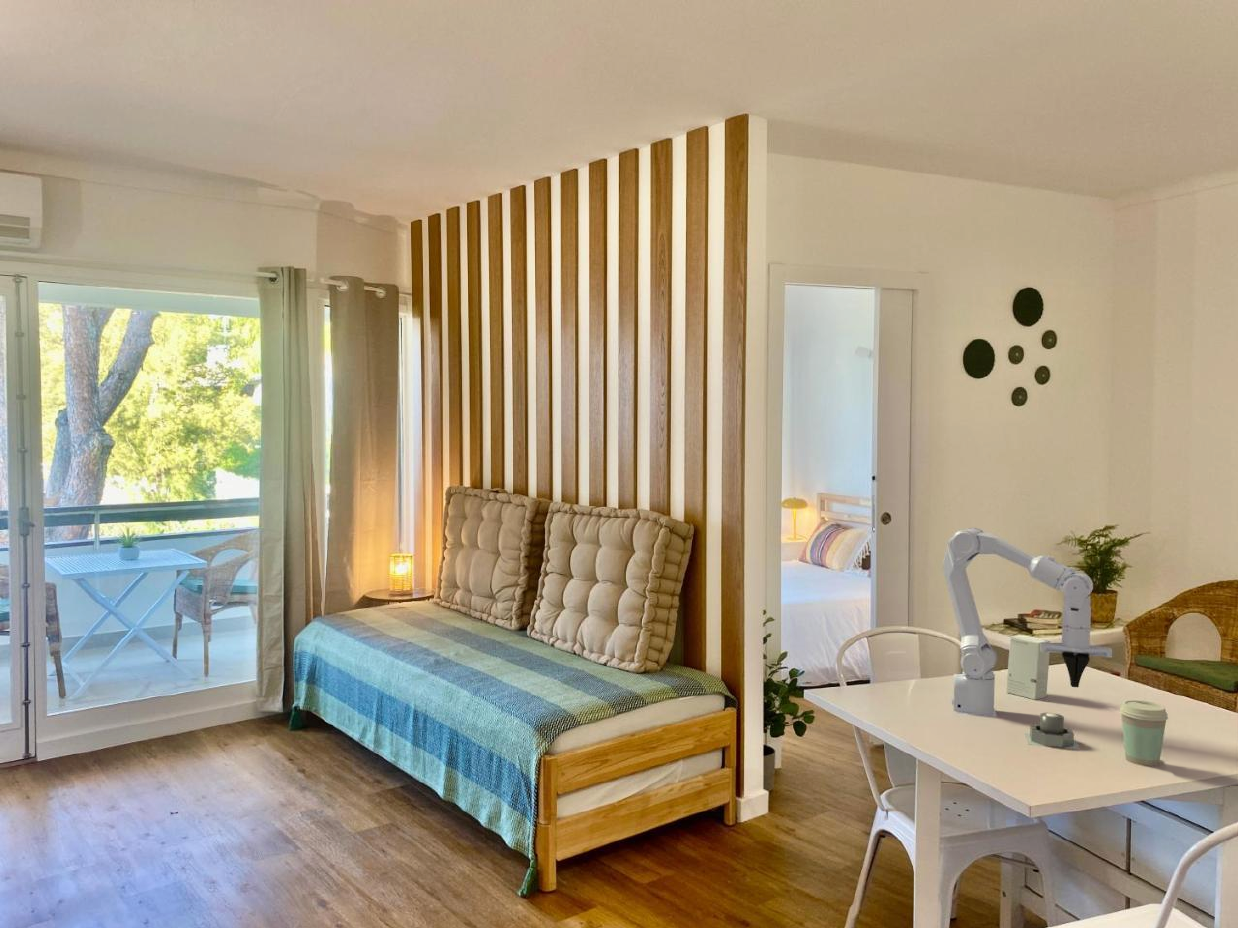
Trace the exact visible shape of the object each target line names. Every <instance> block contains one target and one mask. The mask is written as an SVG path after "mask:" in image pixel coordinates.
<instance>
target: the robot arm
mask: <svg viewBox="0 0 1238 928" xmlns="http://www.w3.org/2000/svg"><path fill="white" fill-rule="evenodd" d="M946 545H947V547H946V550H945V555H944V558H943V561H942V564H941V566H942V568H941V569H942V573H943V575H944V579H945V582H946V587H947V590H948V594H949V597H950V601H951V604H952V609H953V612H954V617H955V619H956V622H957V623H956V624H957V627H958V630H959V634H960V638H961V639H960V648H959V649H960V652H961V659H960V667H961V668H960V669H962V673H956V674H955V673H954V674H953V689H952V693H953V695H952V696H951V705H952V708H953V713H956V714H965V715H973V716H982V717H983V716H985V717H992V718H993V717H994V718H997V713H996V709H995V685H996V684H995V683H996V682H995V680H996V679H995V677H996V675H995V673H994V672H993V669H994V668H995V666H996V665H997V663H998V656H997V652H996V651H995V650H994V649H993V648H992V647H991V645H990V642H989V639H988V637H987V636H986V634H984V631H983V627H982V624H981V621H980V617H979V613H978V610H977V609H978V608H977V606H976V603H975V599H974V595H973V591H972V588H971V585H970V581H969V577H968V573H967V570H966V569H967V568H968V567H969V565H970V563H972V561H973V559H974V558H975V557H976V556H978V555H997V556H999V557H1001V558H1003V559H1005V560H1007V561H1010V562H1012V563H1014V564H1016V565H1018V566H1019V567H1022V568H1024V569H1027V571H1028V572H1029V574H1030V577H1031V578H1032V579H1035V580H1036V581H1038V582H1041V583H1042V584H1044V585H1047V587H1050V588H1052V589H1054V590H1056V591H1061V594H1062V595H1063V605H1062V617H1061V618H1062V624H1061V642H1050V643H1044V642H1040V651H1041V652H1044V653H1046V652H1050V653H1053V654H1055V653H1056V654H1061V656H1062V660H1063V661H1064V663H1065V666H1066V669H1067V672H1068V676H1069V682H1070V686H1071V687H1072V688H1079V687H1080V682H1081V678H1082V676H1083V673H1084V671H1085V670H1086V667H1087V666H1088V664H1089V663H1090V661H1091V660H1090V657H1091V656H1092V657H1103V658H1104V657H1105V658H1113V648H1111V647H1108V646H1099V645H1092V644H1091V624H1092V623H1091V621H1092V620H1091V618H1092V617H1091V615H1092V611H1091V610H1092V607H1091V596H1090V595H1091V593H1092V591H1093V588H1094V582H1093V579H1091V577H1090V576H1089V575H1088V574H1086V573H1085V572H1084V571H1079V570H1078V571H1076V568H1075V567H1072V566H1070V567H1067V566H1066V565H1064V564H1062V563H1060V562H1058V561H1056V560H1055V557H1054V556H1051V555H1048V556H1046V555H1039V556H1034V555H1032V554H1030V553H1029V552H1026V551H1025V550H1023V549H1021V548H1019V547H1017V546H1015V545H1013V544H1012V543H1010V542H1008V541H1007V540H1005V539H1003V538H1001V537H999V536H996V535H995V534H992V533H990V532H987V531H983V530H982V529H980V528H978V527H969V528H967V529H961V530H958V531H957V532H955V533H954V534H953V535H952V536H951V537H950V539H949V540H948V541H947V543H946Z"/></svg>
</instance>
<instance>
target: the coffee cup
mask: <svg viewBox="0 0 1238 928" xmlns="http://www.w3.org/2000/svg"><path fill="white" fill-rule="evenodd" d="M1119 714H1121V724H1122V734H1123V735H1122V736H1123V737H1122V738H1123V743H1124V744H1123V745H1124V755H1125V756H1124V757H1125V760H1126V761H1127V762H1129V763H1132V764H1135V765H1138V766H1143V767H1156V766H1159V765H1160V760H1161V756H1162V755H1161V754H1162V748H1163V742H1164V737H1165V736H1164V735H1165V730H1166V729H1165V728H1166V723H1167V720H1169V717H1168V713H1167V711H1166V707H1165V706H1163V705H1161V704H1159V703H1155V702H1153V701H1152V702H1151V701H1145V700H1138V699H1136V700H1135V699H1131V700H1130V699H1129V700H1125V701H1123V702H1122V705H1121V707H1120V709H1119Z"/></svg>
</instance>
